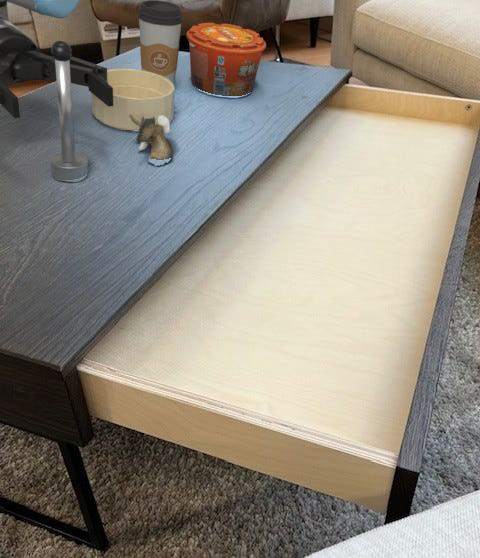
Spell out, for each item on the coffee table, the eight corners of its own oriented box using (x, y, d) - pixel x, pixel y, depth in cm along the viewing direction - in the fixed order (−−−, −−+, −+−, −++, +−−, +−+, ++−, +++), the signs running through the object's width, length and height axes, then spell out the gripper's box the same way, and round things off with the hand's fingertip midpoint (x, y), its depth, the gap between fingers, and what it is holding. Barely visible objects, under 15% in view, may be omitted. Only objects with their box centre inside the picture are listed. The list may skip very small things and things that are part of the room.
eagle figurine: (116, 135, 102) (125, 150, 95) (138, 98, 101) (149, 110, 93) (155, 159, 106) (166, 175, 99) (177, 124, 105) (190, 137, 98)
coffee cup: (137, 91, 121) (137, 9, 111) (137, 76, 127) (138, -3, 118) (180, 95, 123) (184, 14, 113) (178, 80, 129) (182, 2, 119)
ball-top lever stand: (45, 178, 90) (32, 42, 78) (59, 163, 94) (49, 32, 82) (80, 185, 90) (72, 50, 78) (93, 170, 94) (87, 39, 82)
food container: (275, 94, 131) (282, 41, 124) (221, 107, 121) (227, 51, 114) (222, 69, 138) (227, 18, 131) (167, 80, 128) (169, 25, 121)
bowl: (80, 123, 106) (78, 88, 102) (107, 95, 117) (107, 63, 114) (161, 139, 106) (162, 105, 102) (181, 109, 117) (182, 78, 113)
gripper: (84, 69, 106) (145, 117, 95) (-74, 82, 93) (-24, 141, 81) (81, 22, 102) (146, 67, 90) (-85, 29, 88) (-34, 83, 76)
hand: (65, 102), depth 86 cm, fingers open, 13 cm apart
